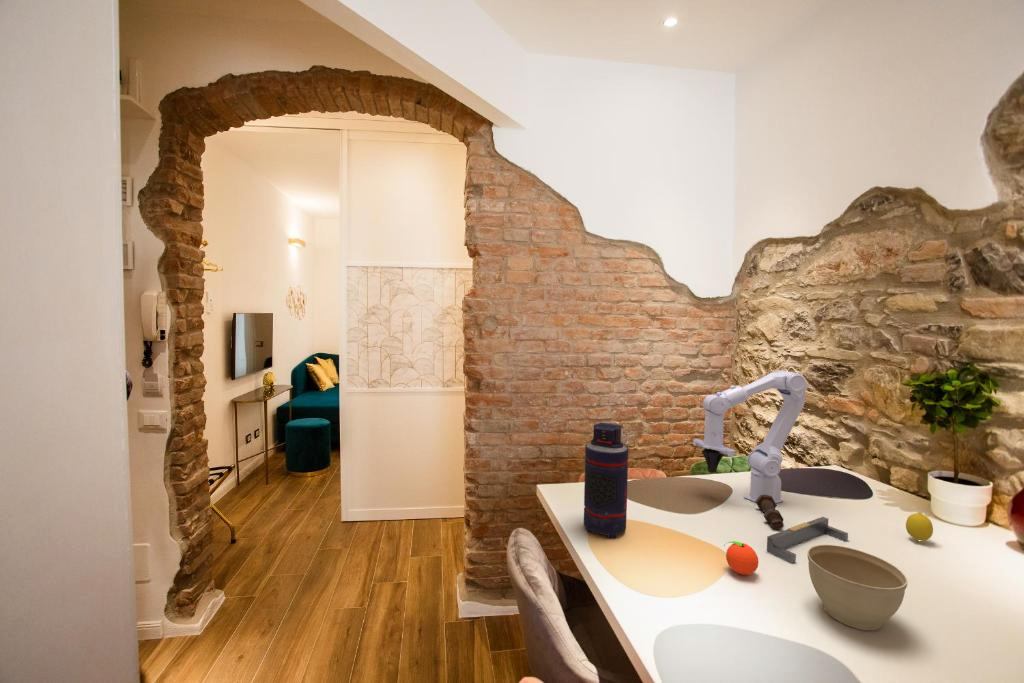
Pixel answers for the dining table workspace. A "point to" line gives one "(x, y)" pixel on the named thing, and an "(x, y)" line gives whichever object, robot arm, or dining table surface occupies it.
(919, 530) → the lemon
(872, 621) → the planter bowl
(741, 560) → the orange-red round fruit
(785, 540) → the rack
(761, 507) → the bolt
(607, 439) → the grenade
